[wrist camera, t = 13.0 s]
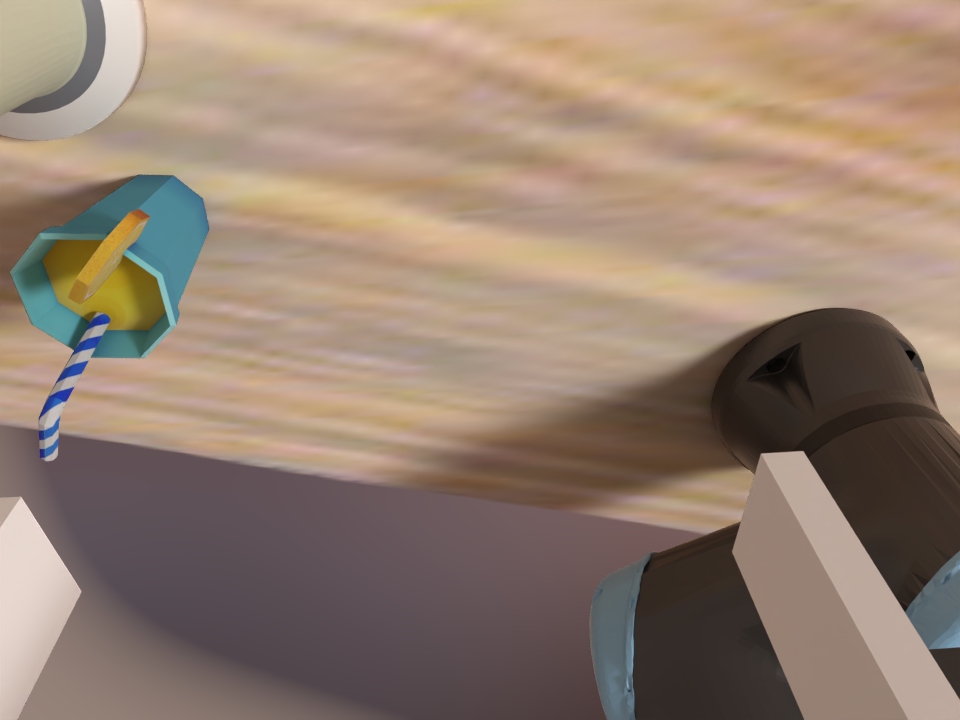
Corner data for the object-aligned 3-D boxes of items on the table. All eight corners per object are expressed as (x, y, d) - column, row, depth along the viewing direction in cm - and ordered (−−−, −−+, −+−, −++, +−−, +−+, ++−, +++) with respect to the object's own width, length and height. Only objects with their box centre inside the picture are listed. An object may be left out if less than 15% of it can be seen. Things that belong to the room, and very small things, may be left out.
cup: (203, 330, 47) (120, 489, 35) (85, 292, 45) (-48, 448, 33) (251, 149, 40) (167, 270, 28) (112, 94, 37) (-45, 199, 25)
